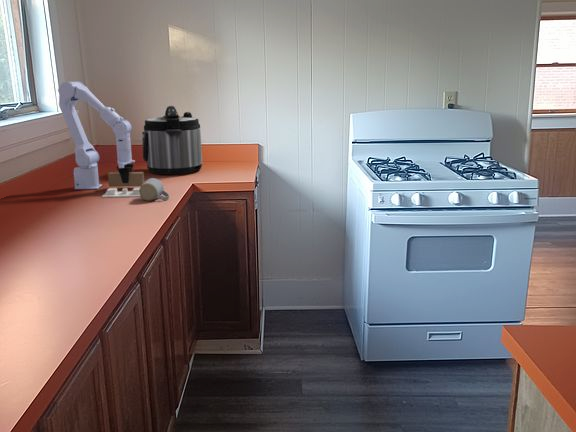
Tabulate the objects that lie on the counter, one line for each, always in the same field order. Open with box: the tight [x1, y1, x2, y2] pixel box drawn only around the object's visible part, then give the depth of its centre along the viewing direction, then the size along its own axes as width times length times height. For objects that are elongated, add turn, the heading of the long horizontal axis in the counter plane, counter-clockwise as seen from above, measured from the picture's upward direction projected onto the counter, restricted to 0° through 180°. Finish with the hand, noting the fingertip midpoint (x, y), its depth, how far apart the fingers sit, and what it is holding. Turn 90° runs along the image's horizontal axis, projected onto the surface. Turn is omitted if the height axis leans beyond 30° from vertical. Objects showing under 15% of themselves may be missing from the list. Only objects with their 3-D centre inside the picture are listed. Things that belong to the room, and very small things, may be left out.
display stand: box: [101, 187, 142, 199], centre depth 217 cm, size 16×8×2 cm, turn 94°
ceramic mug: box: [139, 177, 170, 202], centre depth 209 cm, size 11×8×8 cm
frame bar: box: [107, 171, 145, 188], centre depth 229 cm, size 14×3×6 cm, turn 94°
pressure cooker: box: [141, 105, 203, 175], centre depth 266 cm, size 30×28×32 cm
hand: (126, 182), depth 229 cm, fingers closed on frame bar, 3 cm apart
